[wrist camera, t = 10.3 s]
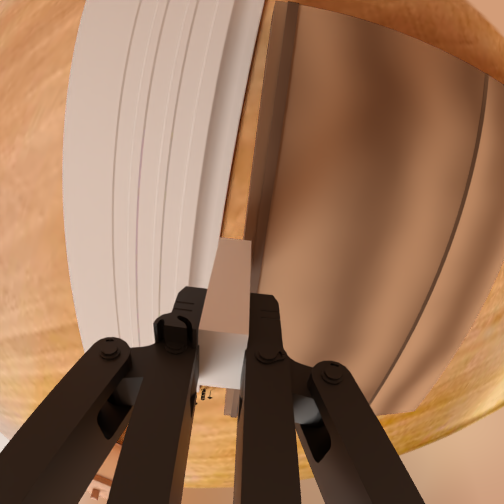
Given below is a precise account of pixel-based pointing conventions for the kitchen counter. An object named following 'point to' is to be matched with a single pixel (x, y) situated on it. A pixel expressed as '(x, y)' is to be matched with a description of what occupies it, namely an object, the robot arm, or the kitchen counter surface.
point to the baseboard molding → (150, 154)
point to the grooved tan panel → (374, 200)
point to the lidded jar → (105, 475)
